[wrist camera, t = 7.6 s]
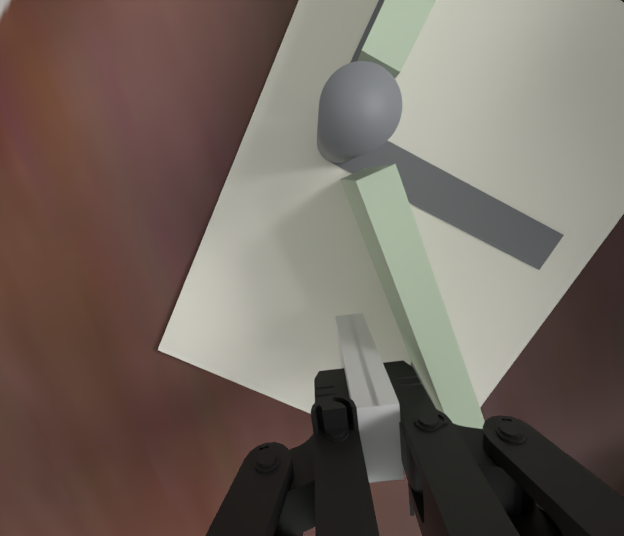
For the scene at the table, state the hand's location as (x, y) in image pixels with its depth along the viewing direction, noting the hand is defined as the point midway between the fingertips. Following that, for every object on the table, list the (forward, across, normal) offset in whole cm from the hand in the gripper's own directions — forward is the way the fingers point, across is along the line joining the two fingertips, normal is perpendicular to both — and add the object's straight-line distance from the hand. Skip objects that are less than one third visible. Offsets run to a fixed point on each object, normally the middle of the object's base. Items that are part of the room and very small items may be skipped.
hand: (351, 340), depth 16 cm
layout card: (+2, +4, +5) cm, 6 cm away
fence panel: (+1, +3, +2) cm, 4 cm away
